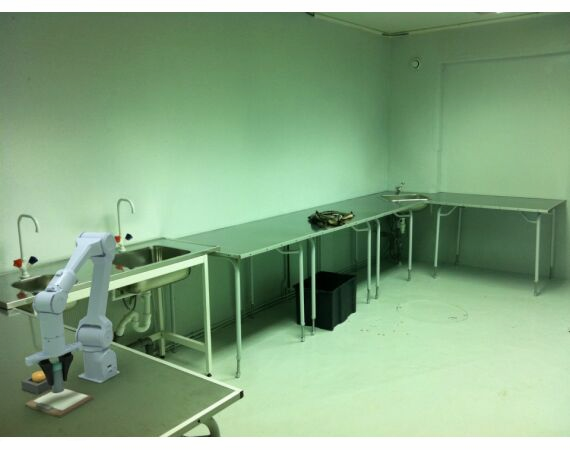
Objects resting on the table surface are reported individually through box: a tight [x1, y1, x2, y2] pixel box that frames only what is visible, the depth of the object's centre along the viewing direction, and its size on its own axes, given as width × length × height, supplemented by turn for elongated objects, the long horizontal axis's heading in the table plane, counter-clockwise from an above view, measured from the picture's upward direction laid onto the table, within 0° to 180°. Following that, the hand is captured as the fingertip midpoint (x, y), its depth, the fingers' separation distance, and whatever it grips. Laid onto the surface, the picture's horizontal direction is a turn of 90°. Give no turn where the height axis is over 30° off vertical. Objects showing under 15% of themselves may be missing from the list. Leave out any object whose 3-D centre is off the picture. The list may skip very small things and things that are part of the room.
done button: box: [31, 370, 47, 383], centre depth 152 cm, size 4×4×2 cm
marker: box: [50, 360, 65, 393], centre depth 142 cm, size 3×3×8 cm
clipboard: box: [24, 387, 94, 418], centre depth 143 cm, size 14×11×1 cm
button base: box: [20, 375, 52, 395], centre depth 152 cm, size 7×7×2 cm
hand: (57, 382), depth 142 cm, fingers closed on marker, 3 cm apart
